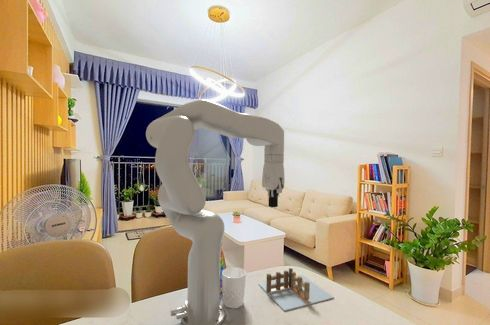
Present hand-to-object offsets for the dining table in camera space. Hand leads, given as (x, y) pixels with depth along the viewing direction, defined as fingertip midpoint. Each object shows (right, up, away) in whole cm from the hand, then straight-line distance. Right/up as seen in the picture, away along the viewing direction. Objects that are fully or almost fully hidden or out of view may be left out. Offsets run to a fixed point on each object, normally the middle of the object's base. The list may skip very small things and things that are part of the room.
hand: (273, 206), depth 96 cm
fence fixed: (+2, -29, -6) cm, 30 cm away
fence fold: (+8, -28, -10) cm, 31 cm away
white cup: (-15, -29, -15) cm, 36 cm away
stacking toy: (-22, -29, -6) cm, 37 cm away
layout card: (+7, -29, -7) cm, 31 cm away
